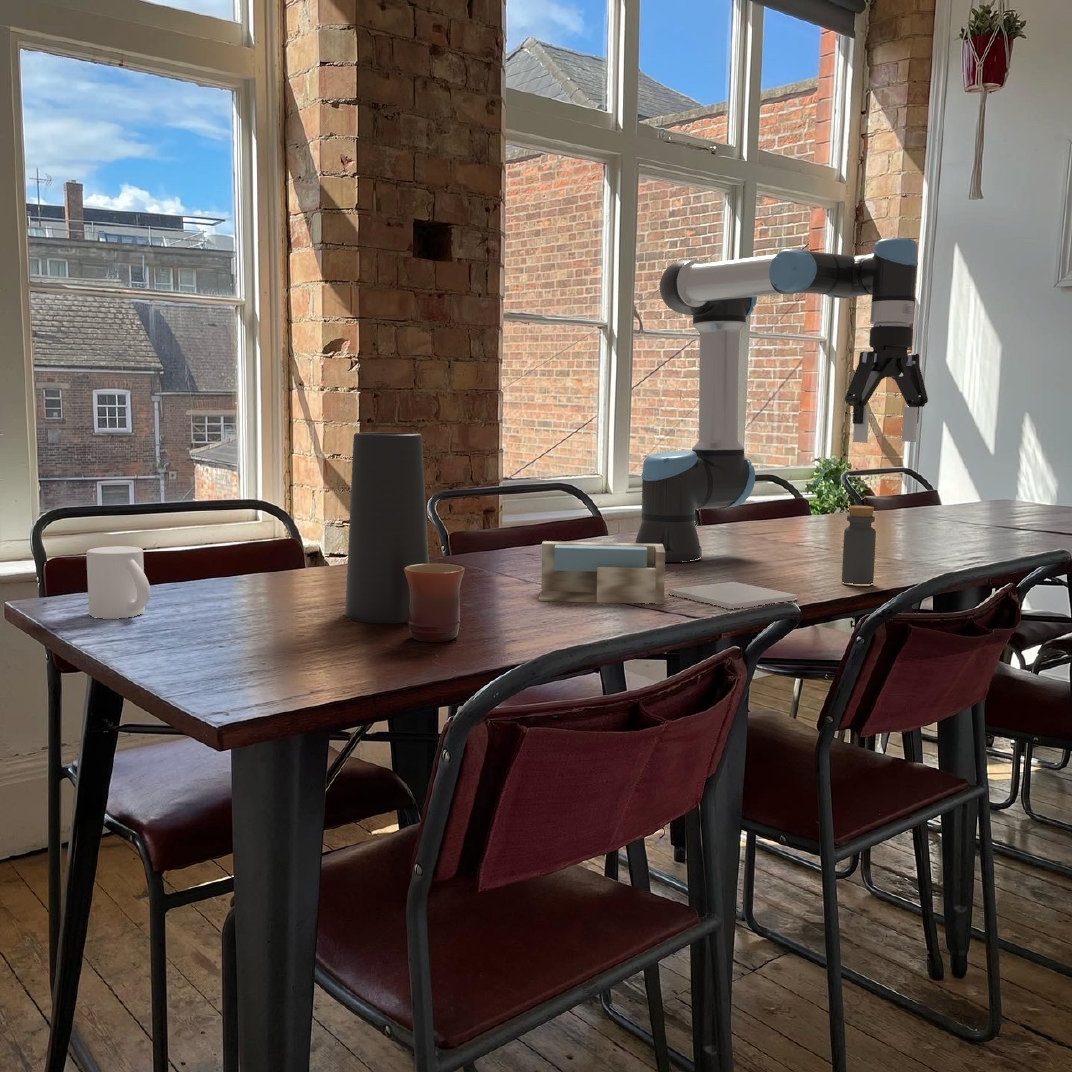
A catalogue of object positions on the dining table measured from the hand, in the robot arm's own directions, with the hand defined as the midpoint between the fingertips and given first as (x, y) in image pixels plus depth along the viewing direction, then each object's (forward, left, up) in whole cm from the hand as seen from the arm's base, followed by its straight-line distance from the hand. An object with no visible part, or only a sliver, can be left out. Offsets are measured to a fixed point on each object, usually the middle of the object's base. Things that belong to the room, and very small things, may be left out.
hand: (884, 442), depth 201 cm
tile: (-6, -32, -27) cm, 42 cm away
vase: (-23, -91, -28) cm, 98 cm away
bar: (-18, -52, -22) cm, 60 cm away
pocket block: (-18, -52, -27) cm, 61 cm away
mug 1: (-43, -127, -28) cm, 137 cm away
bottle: (-4, -1, -28) cm, 28 cm away
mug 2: (-6, -92, -28) cm, 96 cm away
